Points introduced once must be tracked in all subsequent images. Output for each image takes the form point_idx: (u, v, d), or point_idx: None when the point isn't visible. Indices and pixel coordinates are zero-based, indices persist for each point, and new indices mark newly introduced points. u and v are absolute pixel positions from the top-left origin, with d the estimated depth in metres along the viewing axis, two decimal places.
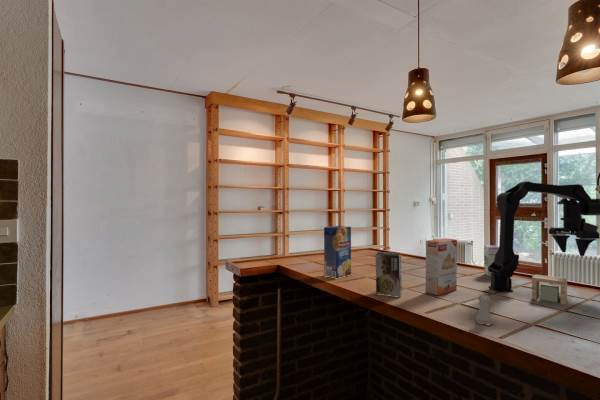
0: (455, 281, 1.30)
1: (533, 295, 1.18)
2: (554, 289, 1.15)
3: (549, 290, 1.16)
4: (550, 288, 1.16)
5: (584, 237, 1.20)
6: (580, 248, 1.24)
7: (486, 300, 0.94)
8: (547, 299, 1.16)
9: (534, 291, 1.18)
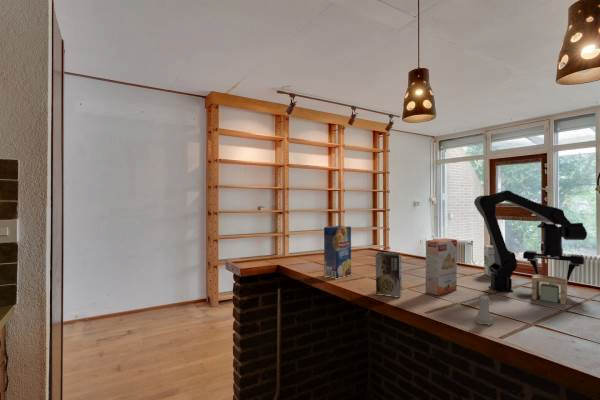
0: (455, 281, 1.30)
1: (533, 295, 1.18)
2: (554, 289, 1.15)
3: (549, 290, 1.16)
4: (550, 288, 1.16)
5: (583, 263, 1.19)
6: None
7: (486, 300, 0.94)
8: (547, 299, 1.16)
9: (534, 291, 1.18)
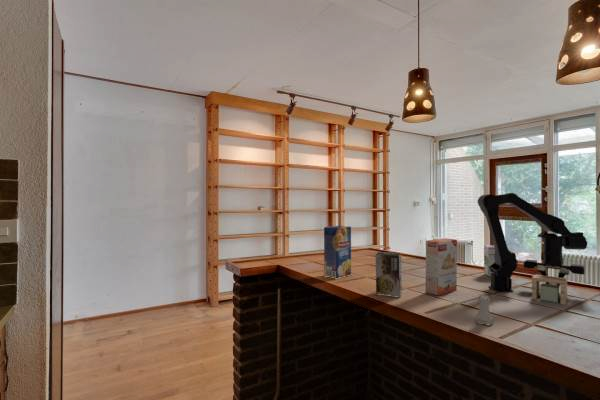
0: (455, 281, 1.30)
1: (533, 295, 1.18)
2: (554, 289, 1.15)
3: (549, 290, 1.16)
4: (550, 288, 1.16)
5: (583, 273, 1.19)
6: None
7: (486, 300, 0.94)
8: (547, 299, 1.16)
9: (534, 291, 1.18)
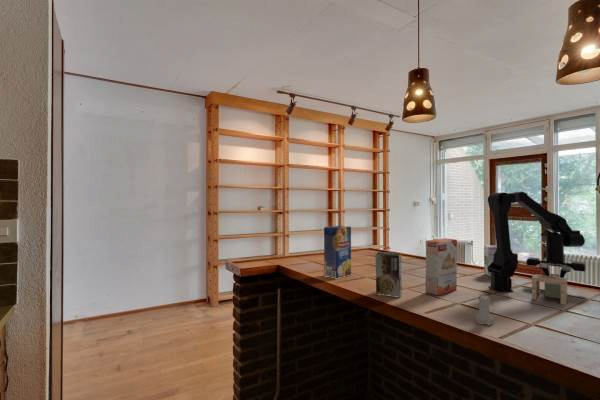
0: (455, 281, 1.30)
1: (533, 295, 1.18)
2: (558, 286, 1.19)
3: (553, 287, 1.20)
4: (554, 285, 1.20)
5: (584, 270, 1.23)
6: None
7: (486, 300, 0.94)
8: (551, 295, 1.20)
9: (534, 291, 1.18)
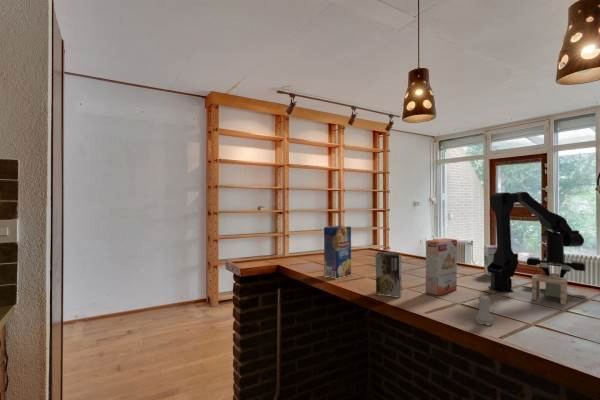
0: (455, 281, 1.30)
1: (533, 295, 1.18)
2: (559, 285, 1.20)
3: (554, 286, 1.21)
4: (555, 284, 1.21)
5: (584, 269, 1.24)
6: None
7: (486, 300, 0.94)
8: (552, 295, 1.21)
9: (534, 291, 1.18)
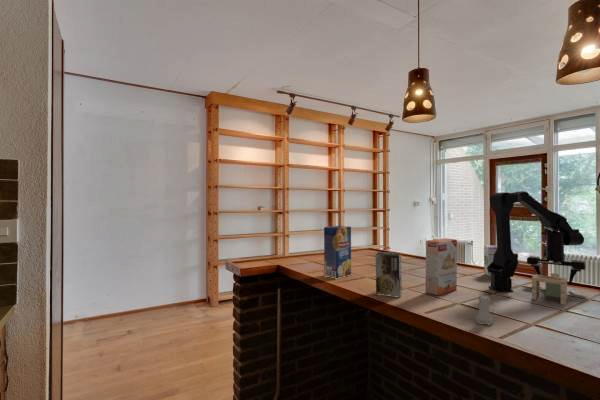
0: (455, 281, 1.30)
1: (533, 295, 1.18)
2: (559, 285, 1.20)
3: (554, 286, 1.21)
4: (555, 284, 1.21)
5: (584, 268, 1.25)
6: None
7: (486, 300, 0.94)
8: (552, 295, 1.21)
9: (534, 291, 1.18)
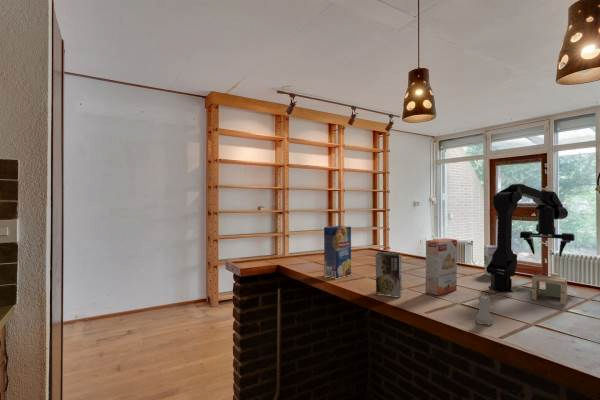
0: (455, 281, 1.30)
1: (533, 295, 1.18)
2: (559, 285, 1.20)
3: (554, 286, 1.21)
4: (555, 284, 1.21)
5: (573, 239, 1.33)
6: (562, 249, 1.36)
7: (486, 300, 0.94)
8: (552, 295, 1.21)
9: (534, 291, 1.18)
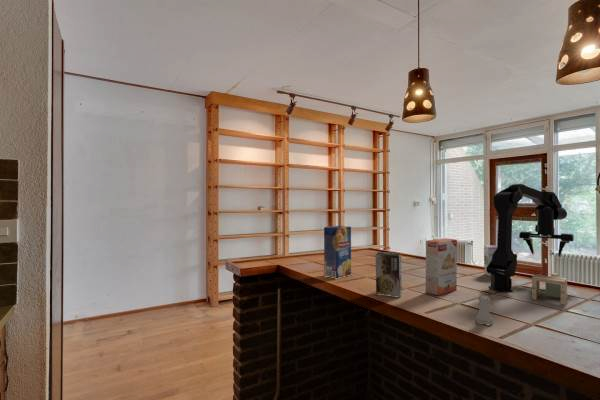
0: (455, 281, 1.30)
1: (533, 295, 1.18)
2: (559, 285, 1.20)
3: (554, 286, 1.21)
4: (555, 284, 1.21)
5: (572, 240, 1.33)
6: None
7: (486, 300, 0.94)
8: (552, 295, 1.21)
9: (534, 291, 1.18)
